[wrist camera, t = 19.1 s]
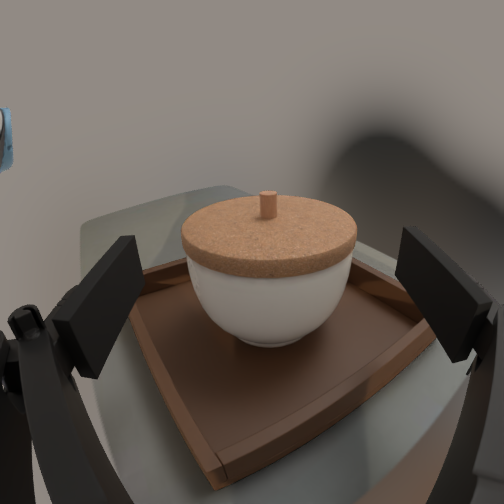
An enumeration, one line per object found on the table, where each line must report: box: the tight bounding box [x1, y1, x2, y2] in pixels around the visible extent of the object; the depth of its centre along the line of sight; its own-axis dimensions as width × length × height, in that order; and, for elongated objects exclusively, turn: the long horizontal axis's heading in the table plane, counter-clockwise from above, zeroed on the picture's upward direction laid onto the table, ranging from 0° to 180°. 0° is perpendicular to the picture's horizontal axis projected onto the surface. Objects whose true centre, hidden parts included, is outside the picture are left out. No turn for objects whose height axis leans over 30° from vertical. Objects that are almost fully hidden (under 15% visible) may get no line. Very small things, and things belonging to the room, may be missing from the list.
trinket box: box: [181, 191, 357, 348], centre depth 20 cm, size 11×11×9 cm
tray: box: [128, 257, 436, 490], centre depth 22 cm, size 19×19×3 cm
